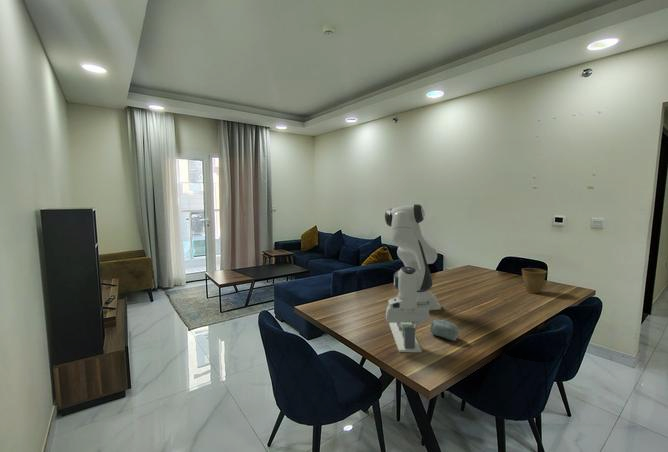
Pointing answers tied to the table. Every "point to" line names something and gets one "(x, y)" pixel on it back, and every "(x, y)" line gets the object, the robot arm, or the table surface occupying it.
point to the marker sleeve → (406, 326)
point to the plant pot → (533, 279)
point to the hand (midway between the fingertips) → (407, 330)
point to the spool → (444, 329)
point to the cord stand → (405, 339)
